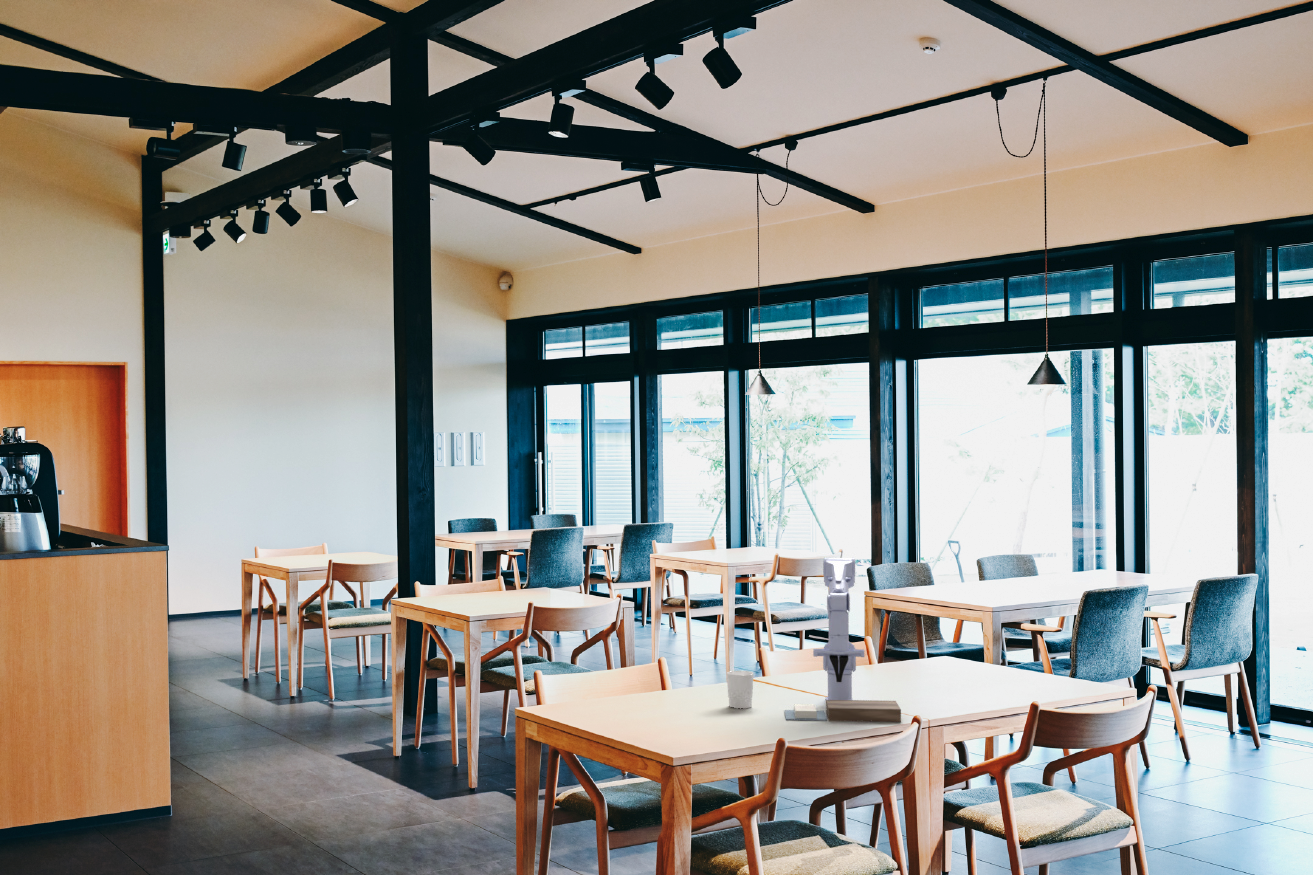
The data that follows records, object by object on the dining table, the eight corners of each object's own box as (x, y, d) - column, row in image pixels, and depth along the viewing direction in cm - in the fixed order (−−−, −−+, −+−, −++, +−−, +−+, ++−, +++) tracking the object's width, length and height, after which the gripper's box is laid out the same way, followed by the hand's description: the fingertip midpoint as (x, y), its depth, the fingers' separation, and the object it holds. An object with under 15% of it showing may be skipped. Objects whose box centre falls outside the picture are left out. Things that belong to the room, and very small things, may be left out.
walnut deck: (826, 711, 339) (826, 699, 339) (895, 712, 337) (895, 700, 337) (828, 720, 327) (828, 708, 327) (900, 721, 325) (900, 709, 325)
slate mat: (784, 711, 340) (784, 709, 340) (824, 711, 339) (824, 710, 339) (785, 720, 328) (785, 718, 328) (827, 720, 327) (827, 719, 327)
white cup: (738, 710, 341) (738, 676, 342) (721, 705, 348) (721, 672, 348) (759, 706, 346) (758, 673, 346) (741, 702, 352) (741, 669, 353)
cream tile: (815, 704, 338) (815, 711, 338) (794, 704, 338) (794, 711, 338) (816, 710, 329) (816, 718, 329) (795, 710, 329) (795, 717, 329)
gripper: (813, 636, 333) (814, 683, 333) (865, 636, 332) (865, 684, 331) (813, 632, 340) (813, 679, 340) (863, 633, 339) (863, 679, 338)
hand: (838, 681), depth 336 cm, fingers closed
